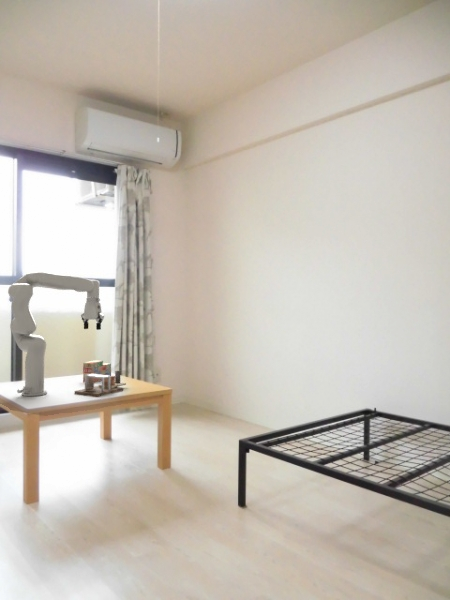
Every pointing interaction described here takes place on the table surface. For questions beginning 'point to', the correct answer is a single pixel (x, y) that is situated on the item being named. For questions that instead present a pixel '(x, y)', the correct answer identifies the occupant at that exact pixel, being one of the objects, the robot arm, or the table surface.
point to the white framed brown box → (113, 381)
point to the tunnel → (90, 381)
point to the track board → (98, 391)
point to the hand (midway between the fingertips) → (92, 329)
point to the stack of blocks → (96, 369)
